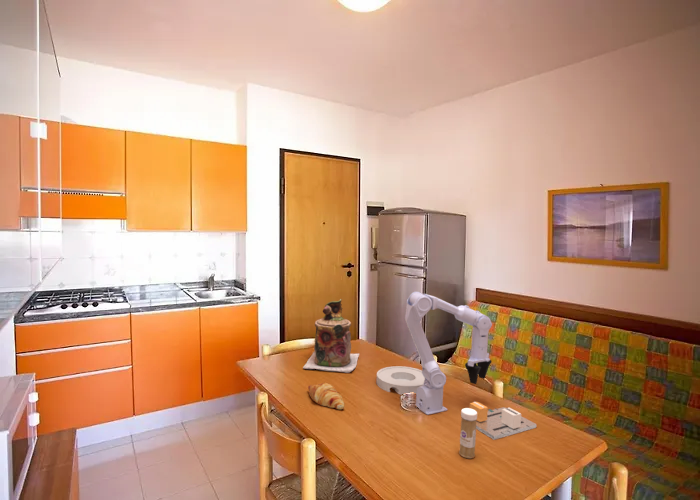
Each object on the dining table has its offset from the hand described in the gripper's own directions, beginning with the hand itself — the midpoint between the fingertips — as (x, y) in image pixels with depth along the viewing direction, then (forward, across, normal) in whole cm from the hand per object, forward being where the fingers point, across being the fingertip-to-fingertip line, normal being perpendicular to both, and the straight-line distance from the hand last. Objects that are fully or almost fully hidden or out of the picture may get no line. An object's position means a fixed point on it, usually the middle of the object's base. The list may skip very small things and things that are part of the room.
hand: (477, 380), depth 149 cm
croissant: (+11, -38, +43) cm, 59 cm away
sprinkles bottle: (+11, -33, -12) cm, 37 cm away
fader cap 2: (+9, -8, -16) cm, 19 cm away
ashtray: (+11, -2, +32) cm, 34 cm away
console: (+10, -7, -12) cm, 17 cm away
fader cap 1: (+9, -11, -6) cm, 15 cm away
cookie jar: (+11, -6, +72) cm, 73 cm away
